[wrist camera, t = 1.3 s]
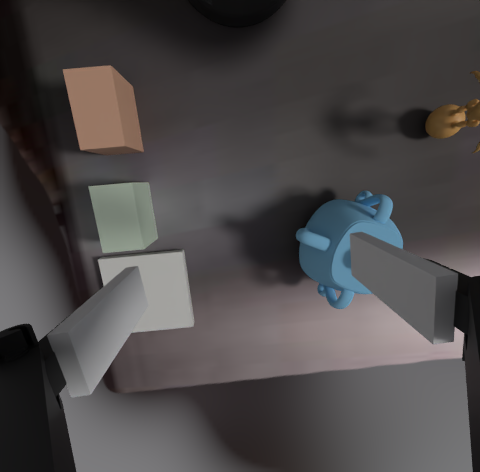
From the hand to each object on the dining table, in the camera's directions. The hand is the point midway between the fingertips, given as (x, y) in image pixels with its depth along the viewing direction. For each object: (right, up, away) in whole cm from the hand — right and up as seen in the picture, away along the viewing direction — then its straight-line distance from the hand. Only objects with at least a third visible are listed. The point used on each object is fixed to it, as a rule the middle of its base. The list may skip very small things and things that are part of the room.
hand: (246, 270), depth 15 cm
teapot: (+14, +1, +22) cm, 26 cm away
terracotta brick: (-16, +17, +17) cm, 29 cm away
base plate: (-14, -6, +22) cm, 27 cm away
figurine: (+25, +17, +19) cm, 36 cm away
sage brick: (-15, +5, +20) cm, 26 cm away
